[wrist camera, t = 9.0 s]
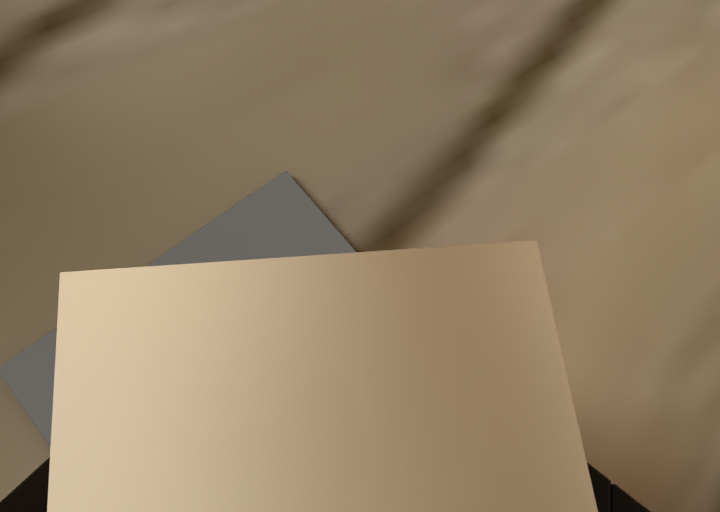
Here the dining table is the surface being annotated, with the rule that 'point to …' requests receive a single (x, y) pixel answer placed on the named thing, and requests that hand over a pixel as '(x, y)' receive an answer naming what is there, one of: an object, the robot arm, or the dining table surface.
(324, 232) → the rubber mat
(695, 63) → the dining table surface
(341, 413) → the birch block
